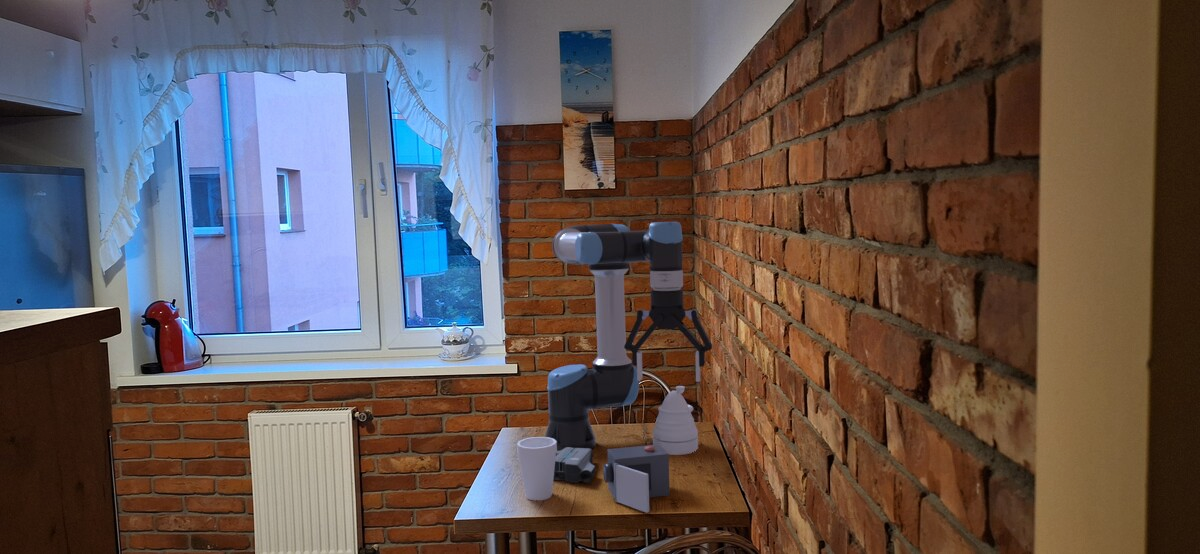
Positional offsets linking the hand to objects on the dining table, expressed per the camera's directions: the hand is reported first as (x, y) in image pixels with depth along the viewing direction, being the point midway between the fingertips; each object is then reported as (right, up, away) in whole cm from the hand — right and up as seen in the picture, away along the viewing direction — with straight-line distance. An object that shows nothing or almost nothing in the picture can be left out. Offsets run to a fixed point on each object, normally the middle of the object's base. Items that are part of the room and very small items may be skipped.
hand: (668, 380), depth 169 cm
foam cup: (-31, -29, +6) cm, 43 cm away
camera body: (-7, -28, +6) cm, 29 cm away
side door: (-9, -28, -4) cm, 30 cm away
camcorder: (-25, -28, +22) cm, 44 cm away
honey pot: (+6, -25, +40) cm, 48 cm away
